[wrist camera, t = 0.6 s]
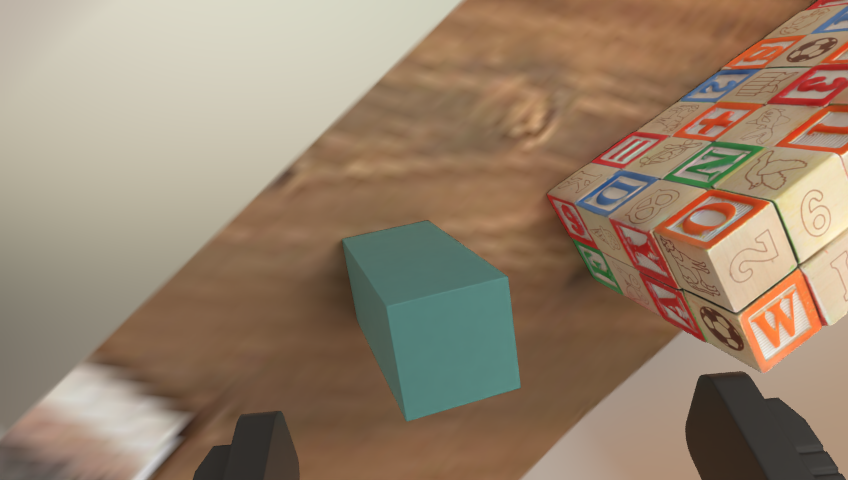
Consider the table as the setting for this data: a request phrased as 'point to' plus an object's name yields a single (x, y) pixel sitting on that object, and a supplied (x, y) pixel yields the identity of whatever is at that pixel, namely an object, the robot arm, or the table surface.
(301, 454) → the table surface
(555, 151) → the table surface
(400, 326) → the teal block
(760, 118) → the stack of blocks
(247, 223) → the table surface
